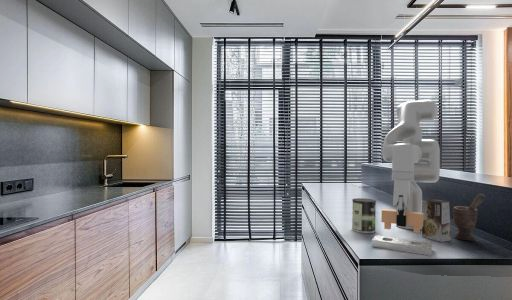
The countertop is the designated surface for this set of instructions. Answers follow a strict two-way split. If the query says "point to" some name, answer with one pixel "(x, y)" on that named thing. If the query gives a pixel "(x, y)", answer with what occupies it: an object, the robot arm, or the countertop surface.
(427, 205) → the coffee box
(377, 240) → the flat gray board
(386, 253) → the countertop surface
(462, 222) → the mortar and pestle
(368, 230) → the coffee can
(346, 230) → the countertop surface
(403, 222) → the robot arm
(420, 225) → the orange pronged block
